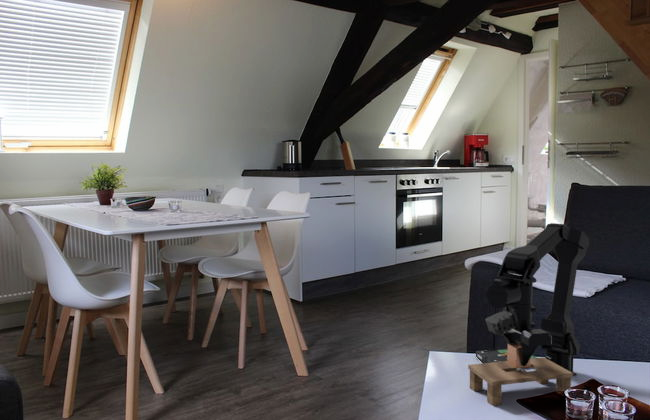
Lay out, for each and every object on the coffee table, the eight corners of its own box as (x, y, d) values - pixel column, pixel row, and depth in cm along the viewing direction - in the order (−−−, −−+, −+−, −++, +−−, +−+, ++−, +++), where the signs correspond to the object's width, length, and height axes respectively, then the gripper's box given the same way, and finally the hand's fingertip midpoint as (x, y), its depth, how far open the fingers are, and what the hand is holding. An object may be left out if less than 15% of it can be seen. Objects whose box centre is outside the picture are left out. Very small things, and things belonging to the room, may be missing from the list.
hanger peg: (520, 376, 150) (521, 342, 149) (529, 382, 146) (530, 347, 145) (506, 378, 149) (507, 343, 148) (515, 384, 145) (516, 348, 144)
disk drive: (490, 372, 164) (539, 367, 166) (490, 362, 164) (539, 358, 166) (475, 359, 174) (521, 355, 177) (475, 350, 174) (521, 346, 176)
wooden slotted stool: (543, 379, 156) (543, 357, 156) (572, 396, 145) (572, 373, 144) (468, 387, 151) (468, 364, 151) (491, 406, 140) (492, 381, 139)
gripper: (472, 295, 153) (471, 353, 154) (511, 313, 135) (510, 379, 136) (510, 293, 156) (509, 350, 157) (554, 310, 138) (552, 374, 139)
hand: (518, 362), depth 147 cm, fingers closed on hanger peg, 4 cm apart
